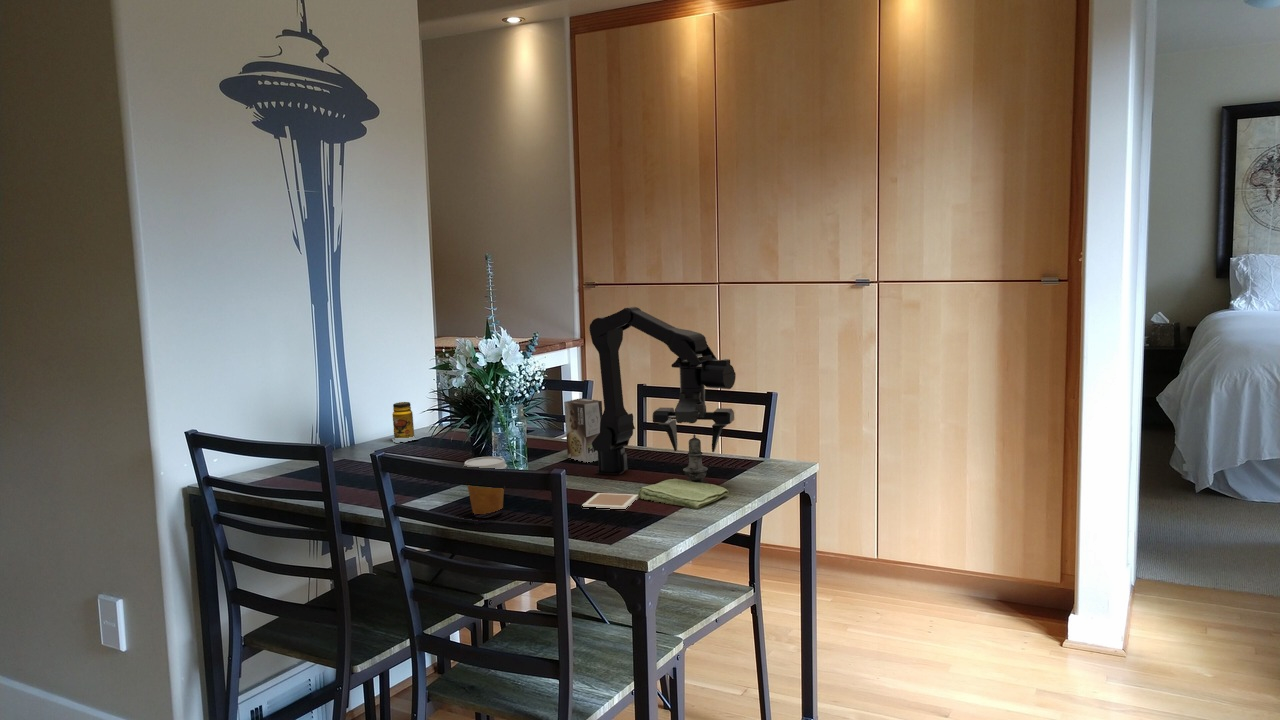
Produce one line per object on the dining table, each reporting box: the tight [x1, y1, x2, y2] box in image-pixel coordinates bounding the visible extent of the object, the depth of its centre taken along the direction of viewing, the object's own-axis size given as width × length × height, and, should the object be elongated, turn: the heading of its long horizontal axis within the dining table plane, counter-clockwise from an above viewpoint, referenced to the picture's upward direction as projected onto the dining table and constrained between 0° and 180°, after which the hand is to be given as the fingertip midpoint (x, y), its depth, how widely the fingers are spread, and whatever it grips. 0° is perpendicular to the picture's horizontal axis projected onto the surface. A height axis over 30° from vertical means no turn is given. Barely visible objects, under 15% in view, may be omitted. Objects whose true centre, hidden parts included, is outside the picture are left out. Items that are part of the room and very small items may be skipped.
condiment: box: [392, 401, 415, 439], centre depth 283 cm, size 7×8×12 cm
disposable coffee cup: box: [463, 456, 508, 514], centre depth 198 cm, size 10×10×12 cm
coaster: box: [581, 492, 640, 510], centre depth 204 cm, size 10×10×1 cm
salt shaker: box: [682, 434, 709, 484], centre depth 216 cm, size 6×6×12 cm
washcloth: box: [637, 478, 730, 510], centre depth 205 cm, size 13×18×3 cm
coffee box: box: [563, 398, 603, 464], centre depth 247 cm, size 9×6×16 cm
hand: (694, 451), depth 216 cm, fingers open, 9 cm apart
